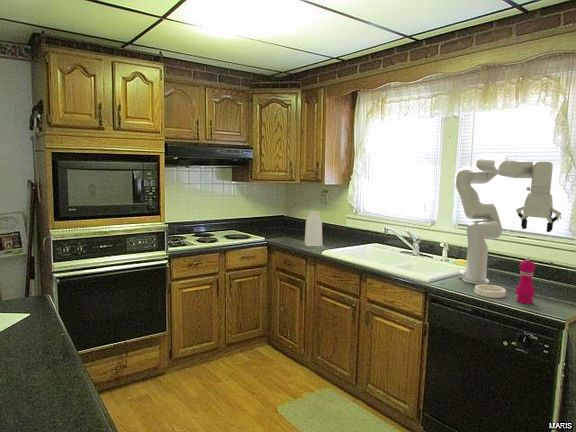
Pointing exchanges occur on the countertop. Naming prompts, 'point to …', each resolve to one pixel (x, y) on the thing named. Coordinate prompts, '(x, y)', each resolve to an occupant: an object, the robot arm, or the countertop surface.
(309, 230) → the milk
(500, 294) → the ring holder
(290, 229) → the countertop surface
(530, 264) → the pepper mill
